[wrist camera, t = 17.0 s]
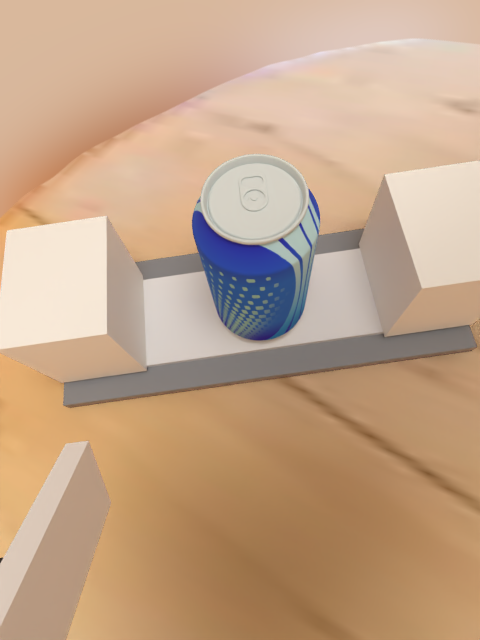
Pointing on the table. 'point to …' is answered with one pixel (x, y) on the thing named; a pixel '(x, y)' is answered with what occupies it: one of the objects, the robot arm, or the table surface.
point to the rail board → (201, 315)
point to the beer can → (257, 243)
